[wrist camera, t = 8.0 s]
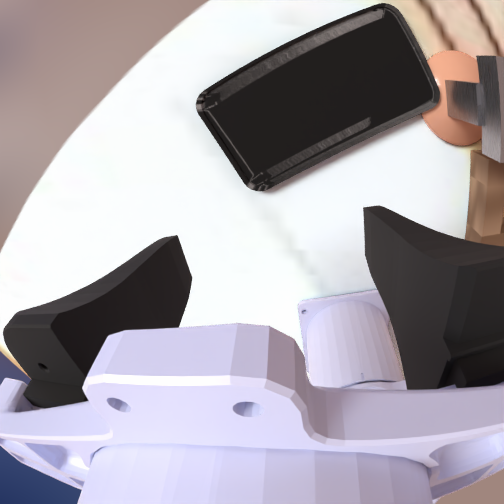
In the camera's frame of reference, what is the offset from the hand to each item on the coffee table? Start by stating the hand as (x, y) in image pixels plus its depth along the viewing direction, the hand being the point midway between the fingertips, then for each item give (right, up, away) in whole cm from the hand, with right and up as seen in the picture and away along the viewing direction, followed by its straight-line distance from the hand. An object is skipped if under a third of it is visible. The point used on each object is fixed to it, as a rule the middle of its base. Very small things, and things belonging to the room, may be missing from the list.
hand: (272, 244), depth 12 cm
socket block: (+20, +4, +8) cm, 22 cm away
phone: (+4, +10, +7) cm, 13 cm away
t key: (+14, +10, +4) cm, 18 cm away
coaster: (+14, +10, +5) cm, 18 cm away
